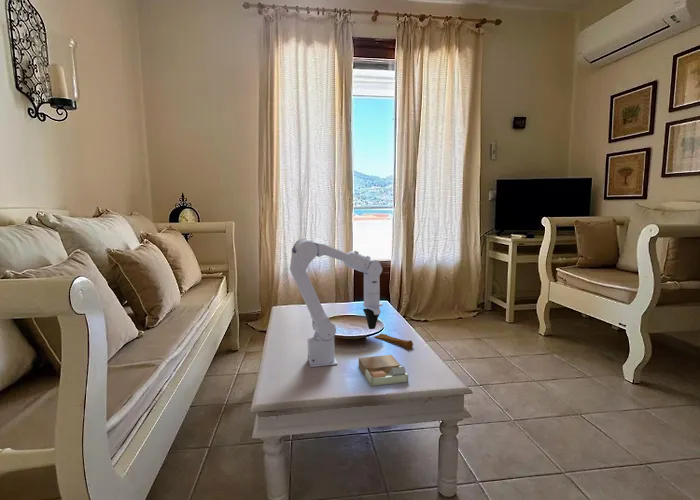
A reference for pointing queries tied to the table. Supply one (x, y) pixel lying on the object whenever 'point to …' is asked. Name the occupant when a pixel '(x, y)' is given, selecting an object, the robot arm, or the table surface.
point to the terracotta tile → (377, 374)
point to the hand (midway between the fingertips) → (371, 328)
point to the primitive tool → (395, 341)
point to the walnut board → (378, 363)
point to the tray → (386, 379)
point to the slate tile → (397, 371)
